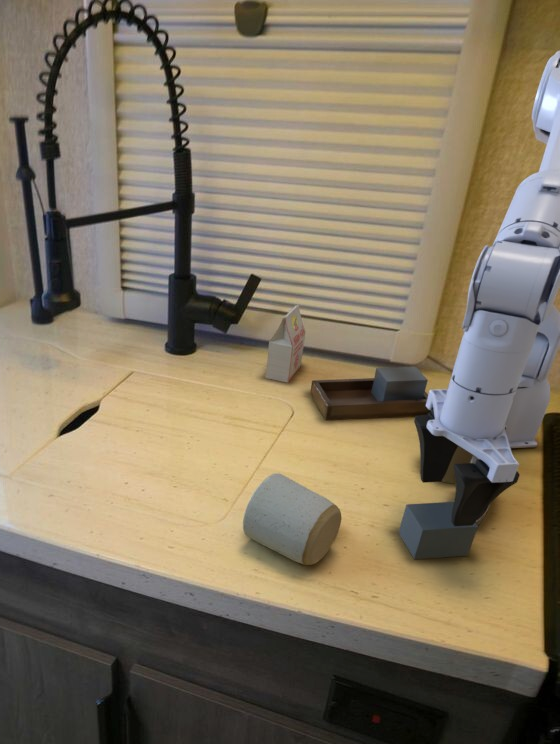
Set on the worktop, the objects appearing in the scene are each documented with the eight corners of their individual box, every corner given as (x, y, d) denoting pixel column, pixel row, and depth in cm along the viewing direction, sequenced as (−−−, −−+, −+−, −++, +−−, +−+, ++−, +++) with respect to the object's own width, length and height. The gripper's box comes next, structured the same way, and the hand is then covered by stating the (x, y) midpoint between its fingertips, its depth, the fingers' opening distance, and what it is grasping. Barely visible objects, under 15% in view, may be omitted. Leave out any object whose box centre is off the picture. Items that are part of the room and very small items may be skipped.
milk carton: (265, 377, 105) (271, 316, 99) (279, 361, 110) (286, 302, 104) (287, 382, 104) (295, 320, 98) (300, 366, 109) (309, 306, 103)
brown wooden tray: (408, 390, 102) (415, 361, 99) (430, 415, 96) (438, 385, 93) (309, 394, 101) (314, 364, 98) (325, 420, 94) (330, 389, 91)
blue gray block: (449, 529, 75) (459, 501, 72) (467, 556, 71) (478, 526, 69) (398, 532, 74) (406, 504, 72) (413, 559, 70) (422, 530, 68)
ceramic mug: (304, 582, 67) (315, 522, 63) (238, 548, 71) (244, 489, 67) (353, 534, 74) (366, 476, 69) (290, 505, 78) (299, 449, 73)
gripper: (411, 350, 66) (383, 465, 74) (480, 421, 55) (438, 548, 63) (478, 348, 67) (444, 462, 75) (560, 418, 55) (509, 543, 63)
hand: (445, 501), depth 69 cm, fingers open, 7 cm apart
